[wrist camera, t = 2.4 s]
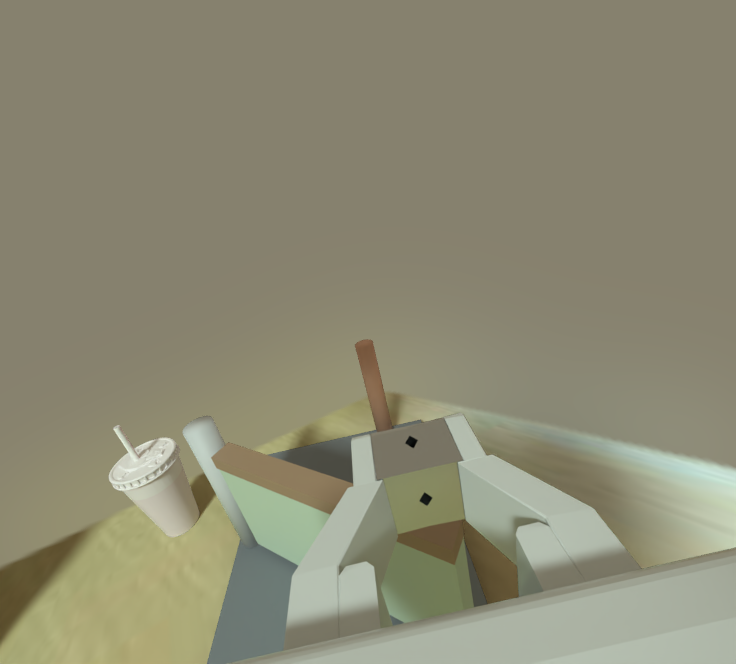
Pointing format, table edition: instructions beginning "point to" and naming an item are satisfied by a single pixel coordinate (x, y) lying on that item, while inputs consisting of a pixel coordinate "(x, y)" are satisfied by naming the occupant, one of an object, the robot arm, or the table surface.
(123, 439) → the smoothie
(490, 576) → the table surface
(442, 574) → the panel
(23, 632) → the table surface
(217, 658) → the board
